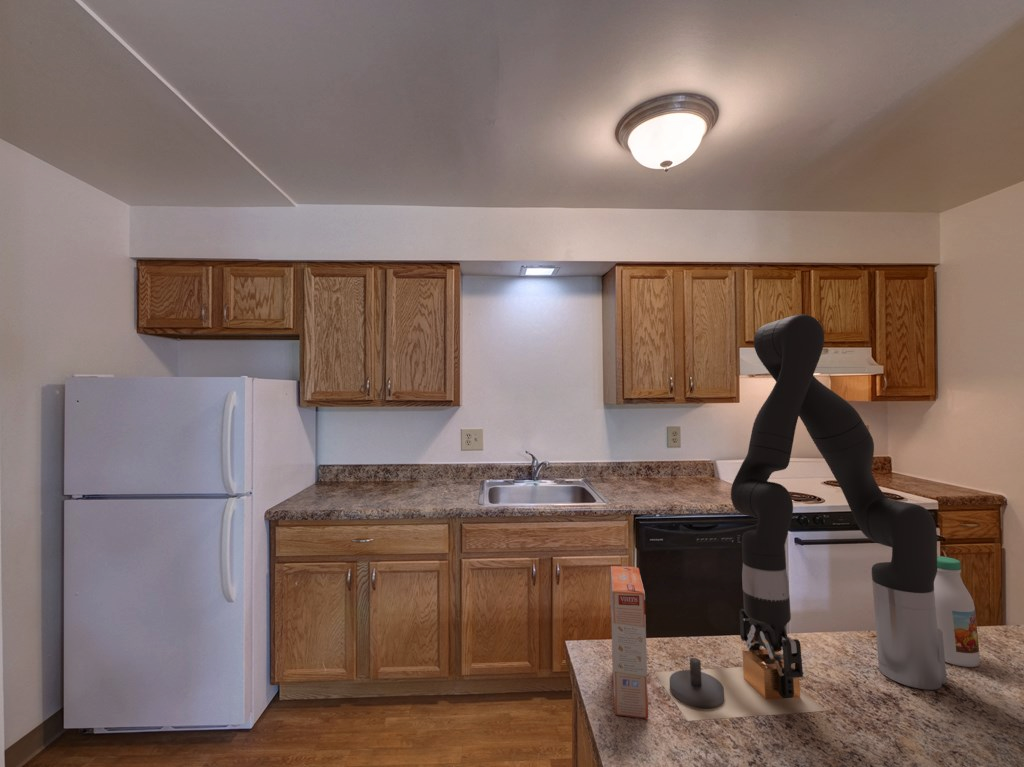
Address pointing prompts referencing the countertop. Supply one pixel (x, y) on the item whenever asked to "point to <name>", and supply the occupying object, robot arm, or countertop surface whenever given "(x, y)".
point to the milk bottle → (955, 614)
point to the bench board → (726, 694)
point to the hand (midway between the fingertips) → (770, 682)
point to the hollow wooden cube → (764, 674)
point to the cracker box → (629, 642)
